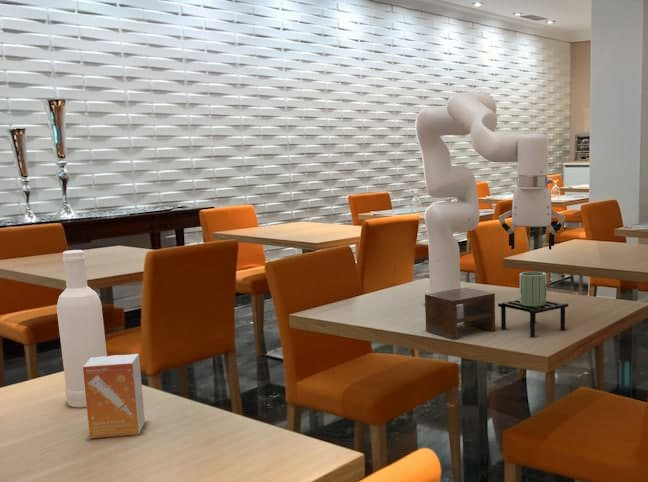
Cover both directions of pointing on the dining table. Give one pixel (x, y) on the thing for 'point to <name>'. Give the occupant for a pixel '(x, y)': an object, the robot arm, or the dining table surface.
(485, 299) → the shelf
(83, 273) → the bottle
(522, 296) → the cup
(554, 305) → the rack
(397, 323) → the dining table surface
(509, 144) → the robot arm
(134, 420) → the small box
